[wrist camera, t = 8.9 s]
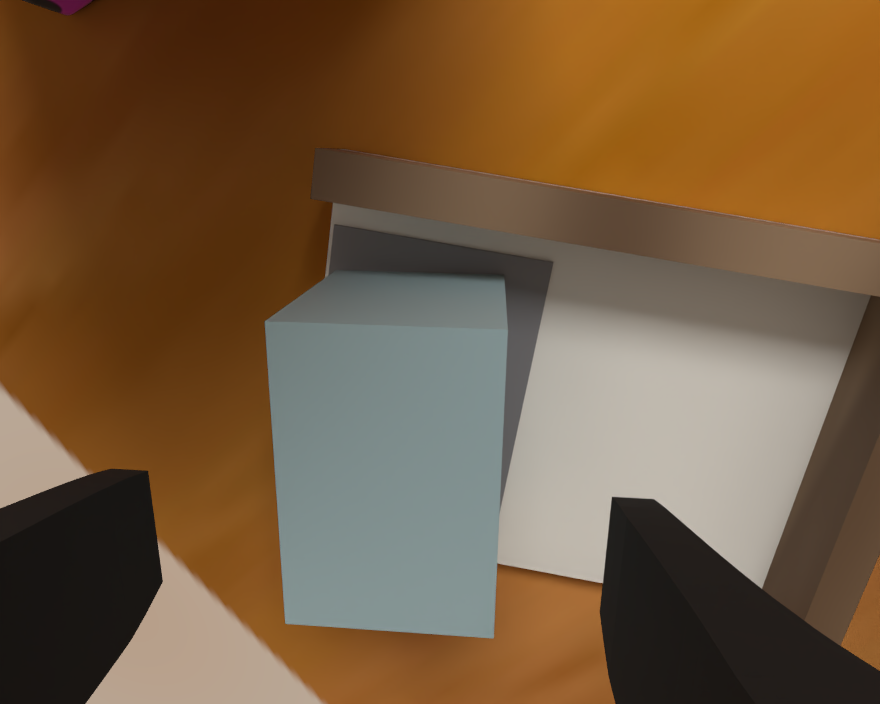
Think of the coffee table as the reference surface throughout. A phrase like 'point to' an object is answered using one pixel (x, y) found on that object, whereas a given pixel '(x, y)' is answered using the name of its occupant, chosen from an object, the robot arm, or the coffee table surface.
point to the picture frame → (655, 367)
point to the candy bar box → (61, 5)
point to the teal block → (390, 450)
